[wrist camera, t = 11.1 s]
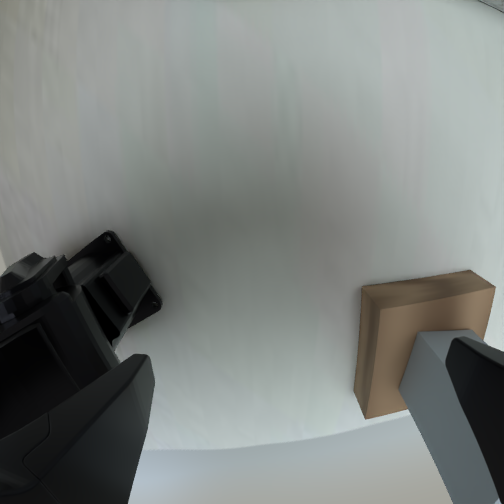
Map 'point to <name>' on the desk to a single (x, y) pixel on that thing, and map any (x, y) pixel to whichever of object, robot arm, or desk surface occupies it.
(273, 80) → the desk surface
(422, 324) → the walnut base block
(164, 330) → the desk surface
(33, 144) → the desk surface
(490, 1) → the light bulb box
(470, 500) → the slate block
